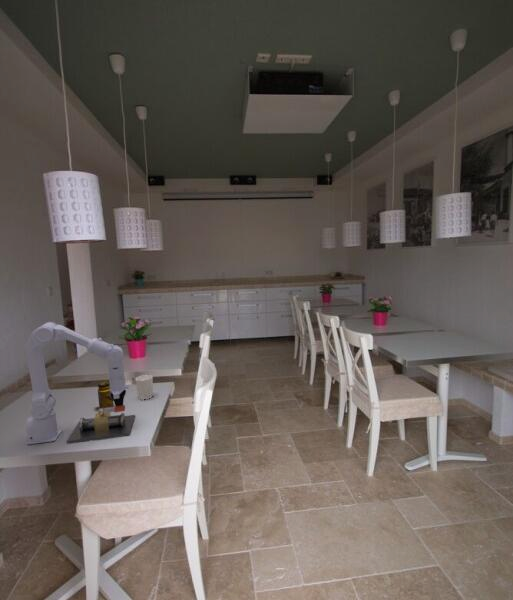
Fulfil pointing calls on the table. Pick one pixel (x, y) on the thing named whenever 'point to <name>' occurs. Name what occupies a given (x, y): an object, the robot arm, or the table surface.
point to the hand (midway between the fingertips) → (119, 409)
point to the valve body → (102, 427)
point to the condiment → (104, 396)
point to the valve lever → (112, 409)
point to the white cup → (144, 386)
